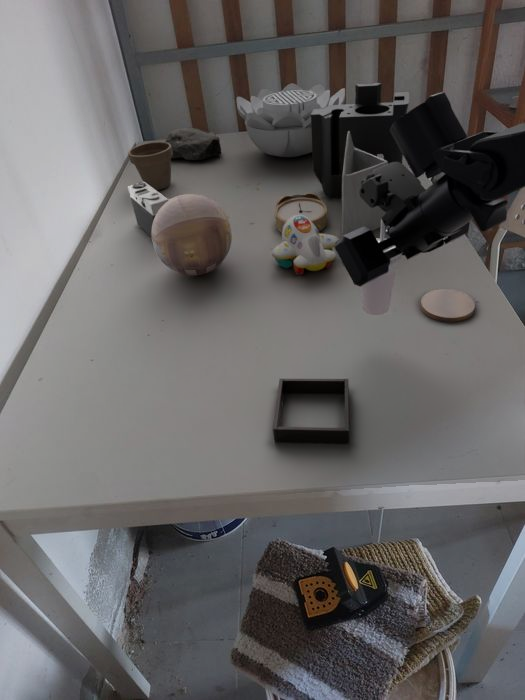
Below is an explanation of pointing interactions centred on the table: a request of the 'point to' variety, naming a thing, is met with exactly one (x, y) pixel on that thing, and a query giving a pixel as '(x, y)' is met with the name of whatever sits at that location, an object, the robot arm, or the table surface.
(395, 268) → the smoothie
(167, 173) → the flower pot
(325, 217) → the alarm clock
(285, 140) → the decorative bowl
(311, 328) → the table surface
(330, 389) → the black square tray
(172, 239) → the ornament
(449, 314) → the coaster
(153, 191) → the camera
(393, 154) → the black machined bracket
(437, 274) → the table surface
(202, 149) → the stone
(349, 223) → the grey angular upright piece
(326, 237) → the toy airplane
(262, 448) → the table surface
